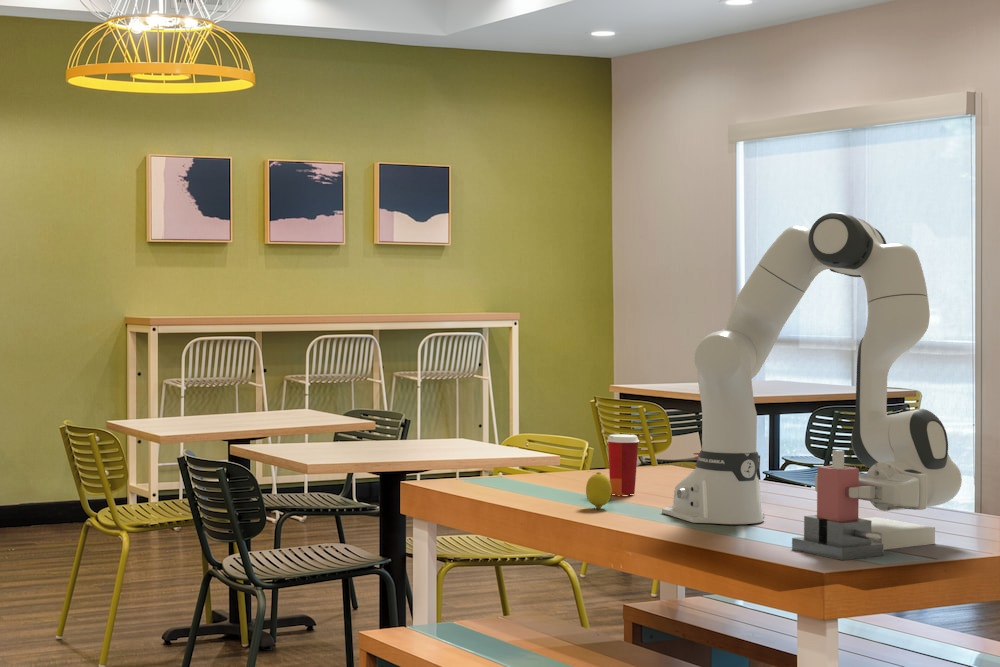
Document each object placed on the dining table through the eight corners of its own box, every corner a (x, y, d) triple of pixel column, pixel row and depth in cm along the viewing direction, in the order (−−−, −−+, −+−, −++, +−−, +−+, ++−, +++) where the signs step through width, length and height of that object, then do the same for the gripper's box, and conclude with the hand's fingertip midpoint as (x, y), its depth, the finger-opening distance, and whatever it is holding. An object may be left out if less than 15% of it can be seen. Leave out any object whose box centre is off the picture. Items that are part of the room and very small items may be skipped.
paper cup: (639, 493, 293) (640, 434, 293) (637, 497, 286) (638, 437, 286) (607, 492, 295) (607, 433, 295) (604, 496, 287) (604, 436, 287)
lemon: (601, 511, 263) (601, 474, 263) (580, 508, 267) (581, 471, 267) (616, 508, 267) (616, 472, 267) (596, 506, 271) (596, 469, 271)
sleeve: (816, 517, 219) (817, 466, 219) (837, 515, 221) (837, 465, 221) (837, 521, 214) (838, 469, 214) (858, 519, 217) (858, 468, 217)
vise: (792, 549, 220) (793, 448, 220) (832, 544, 226) (833, 446, 225) (858, 563, 207) (859, 457, 207) (899, 558, 212) (900, 454, 212)
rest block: (824, 537, 233) (824, 522, 233) (876, 532, 240) (876, 517, 240) (881, 549, 221) (881, 533, 221) (934, 543, 228) (935, 527, 228)
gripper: (846, 462, 233) (792, 466, 226) (934, 474, 216) (878, 478, 209) (846, 496, 233) (792, 500, 226) (933, 510, 216) (877, 516, 209)
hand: (834, 490), depth 217 cm, fingers closed on sleeve, 5 cm apart
